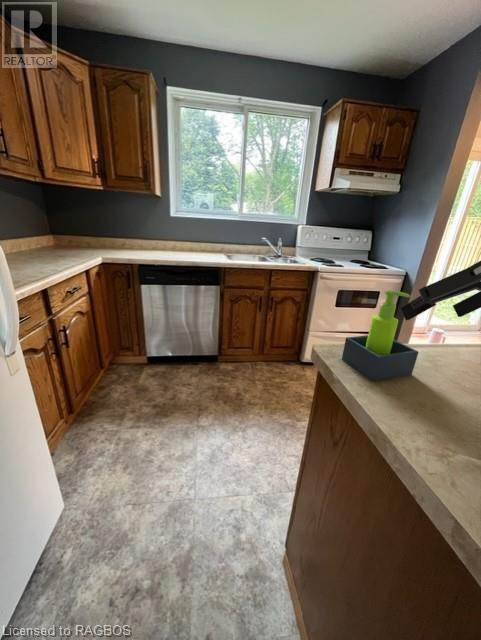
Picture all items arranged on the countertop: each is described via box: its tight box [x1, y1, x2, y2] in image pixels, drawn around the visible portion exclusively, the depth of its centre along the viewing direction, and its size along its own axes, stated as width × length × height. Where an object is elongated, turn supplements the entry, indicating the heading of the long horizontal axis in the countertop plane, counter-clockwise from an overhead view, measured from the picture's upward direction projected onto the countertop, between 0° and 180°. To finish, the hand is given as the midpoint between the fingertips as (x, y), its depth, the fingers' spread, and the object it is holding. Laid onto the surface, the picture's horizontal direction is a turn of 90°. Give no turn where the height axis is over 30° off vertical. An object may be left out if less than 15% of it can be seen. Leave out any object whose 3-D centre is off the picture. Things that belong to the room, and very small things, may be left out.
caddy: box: [341, 334, 419, 382], centre depth 71 cm, size 13×12×7 cm
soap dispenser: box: [365, 290, 412, 355], centre depth 69 cm, size 6×7×20 cm
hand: (431, 312), depth 56 cm, fingers open, 13 cm apart
